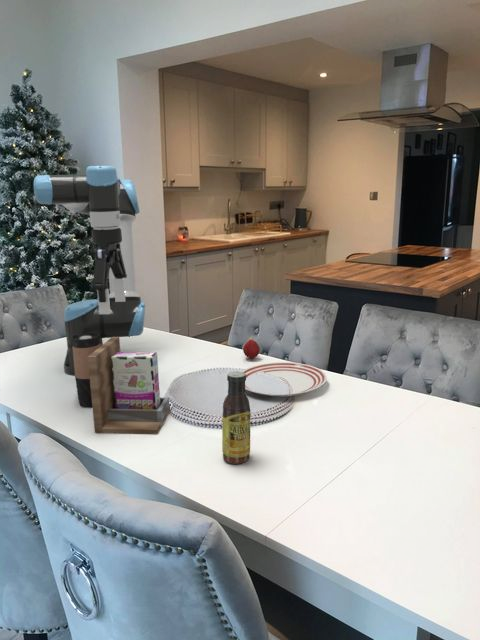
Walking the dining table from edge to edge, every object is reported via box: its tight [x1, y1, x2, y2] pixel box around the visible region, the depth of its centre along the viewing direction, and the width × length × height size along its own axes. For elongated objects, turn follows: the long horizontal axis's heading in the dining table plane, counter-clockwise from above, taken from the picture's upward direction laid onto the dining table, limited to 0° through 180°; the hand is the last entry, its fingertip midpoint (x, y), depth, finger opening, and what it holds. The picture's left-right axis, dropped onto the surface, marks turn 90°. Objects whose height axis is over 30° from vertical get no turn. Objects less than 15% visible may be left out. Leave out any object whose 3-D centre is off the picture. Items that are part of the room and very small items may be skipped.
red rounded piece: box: [242, 337, 261, 361], centre depth 186 cm, size 6×6×8 cm
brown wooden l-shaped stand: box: [88, 337, 171, 435], centre depth 137 cm, size 18×16×20 cm
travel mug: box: [72, 333, 100, 409], centre depth 149 cm, size 8×8×20 cm
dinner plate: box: [241, 361, 327, 397], centre depth 161 cm, size 27×27×3 cm
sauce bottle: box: [221, 370, 252, 465], centre depth 115 cm, size 6×6×20 cm
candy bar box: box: [111, 351, 161, 409], centre depth 139 cm, size 11×5×16 cm, turn 83°
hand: (113, 307), depth 142 cm, fingers open, 13 cm apart
